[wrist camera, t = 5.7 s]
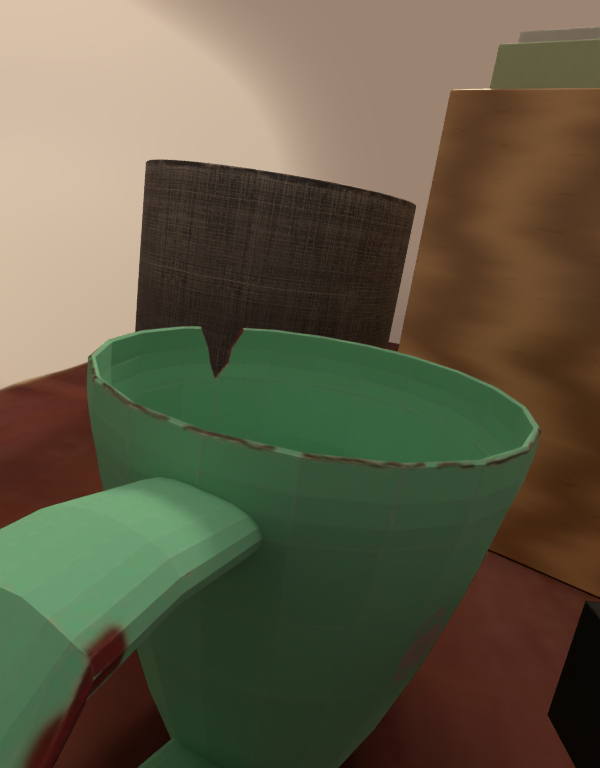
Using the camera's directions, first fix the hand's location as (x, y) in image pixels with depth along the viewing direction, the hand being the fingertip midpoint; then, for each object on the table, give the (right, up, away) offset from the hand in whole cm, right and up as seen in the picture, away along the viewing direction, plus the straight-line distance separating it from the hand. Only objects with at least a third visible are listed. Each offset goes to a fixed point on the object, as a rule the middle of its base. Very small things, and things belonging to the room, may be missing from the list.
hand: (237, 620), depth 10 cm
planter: (-2, +3, +31) cm, 31 cm away
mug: (-1, -5, +3) cm, 6 cm away
